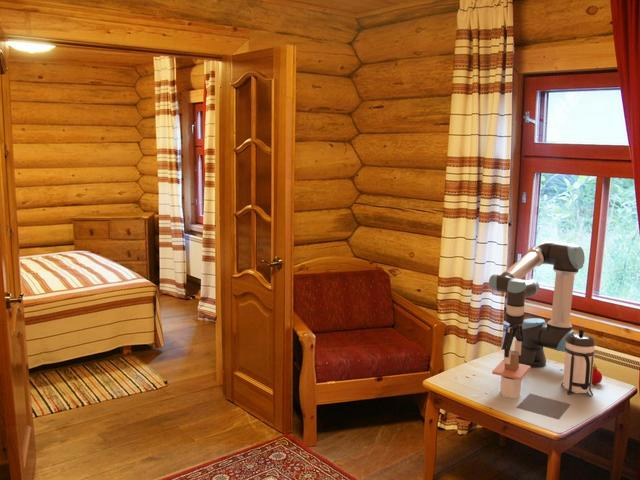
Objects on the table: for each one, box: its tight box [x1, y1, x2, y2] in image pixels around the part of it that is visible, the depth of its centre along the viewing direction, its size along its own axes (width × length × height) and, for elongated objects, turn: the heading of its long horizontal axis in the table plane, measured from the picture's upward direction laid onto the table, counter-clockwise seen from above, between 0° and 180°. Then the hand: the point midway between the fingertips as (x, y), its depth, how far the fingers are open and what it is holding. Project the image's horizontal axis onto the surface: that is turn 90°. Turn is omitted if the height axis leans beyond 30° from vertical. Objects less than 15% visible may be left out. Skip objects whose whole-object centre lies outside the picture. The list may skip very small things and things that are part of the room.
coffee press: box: [560, 329, 597, 397], centre depth 273 cm, size 17×16×30 cm
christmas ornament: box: [591, 363, 603, 385], centre depth 284 cm, size 7×7×10 cm
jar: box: [500, 376, 522, 399], centre depth 271 cm, size 9×8×12 cm
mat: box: [516, 393, 572, 420], centre depth 260 cm, size 18×18×1 cm
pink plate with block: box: [492, 349, 532, 381], centre depth 269 cm, size 13×13×9 cm
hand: (512, 359), depth 269 cm, fingers open, 13 cm apart
